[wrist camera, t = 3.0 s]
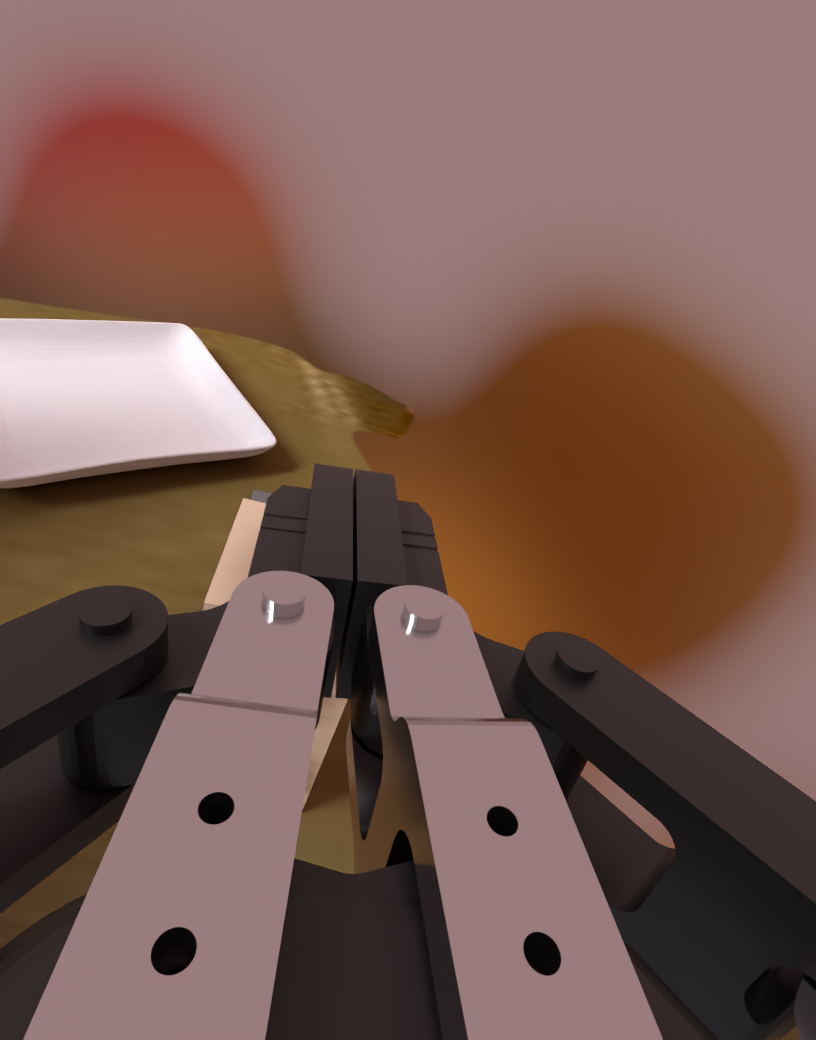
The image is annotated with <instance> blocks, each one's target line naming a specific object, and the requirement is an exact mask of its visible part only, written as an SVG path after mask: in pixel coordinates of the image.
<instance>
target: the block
mask: <svg viewBox="0 0 816 1040" xmlns="http://www.w3.org/2000/svg"><path fill="white" fill-rule="evenodd" d="M265 506H266V503H262V502H257V501H253V500H249V499H245V498H243V500H242V503H241V506H240V508H239V511H238V514H237V516H236V519H235V522H234V524H233V527H232V530H231V532H230V535H229V538H228V540H227V543H226V546H225V548H224V551H223V554H222V556H221V559H220V562H219V564H218V567H217V569H216V572H215V575H214V577H213V580H212V583H211V585H210V588H209V591H208V593H207V596H206V599H205V601H204V607H203V611H204V610H208V609H212V608H215V607H217V606H220V605H222V604H224V603H226V602H228V601H229V600H230V598H231V595H232V593H233V591H234V589H235V588H236V587H237V586H238V585H239V583H241V582H242V581H243V580H245V579H247V578H248V574H249V570H250V566H251V562H252V558H253V554H254V550H255V546H256V542H257V538H258V534H259V530H260V526H261V522H262V518H263V515H264V510H265ZM335 693H336V674H335V679H334V685H333V690H332V696H331V698H327V697H323V702H322V708H321V713H320V719H319V723H318V726H317V728H316V729H315V732H314V738H313V745H312V751H311V757H310V763H309V770H308V776H307V782H306V788H305V794H304V801H303V807H302V810H303V808H304V805H305V803H306V801H307V798H308V796H309V793H310V791H311V788H312V786H313V783H314V781H315V779H316V776H317V774H318V771H319V769H320V766H321V764H322V761H323V759H324V757H325V754H326V752H327V749H328V747H329V744H330V742H331V739H332V737H333V735H334V732H335V730H336V727H337V725H338V722H339V720H340V717H341V715H342V713H343V710H344V708H345V705H346V703H347V700H348V699H343V698H335Z"/></svg>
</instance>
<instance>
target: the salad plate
mask: <svg viewBox="0 0 816 1040" xmlns="http://www.w3.org/2000/svg"><path fill="white" fill-rule="evenodd" d="M276 442H277V441H276V438H275V436H274V435H273V433H272V432H271V431H270V429H269V428H268V427H267V425H266V424H265V423H264V421H263V420H262V419H261V418H260V417H259V415H258V414H257V413H256V411H255V410H254V409H253V408H252V406H251V405H250V404H249V403H248V401H247V400H246V399H245V397H244V396H243V395H242V394H241V392H240V391H239V390H238V389H237V387H236V386H235V385H234V384H233V382H232V381H231V380H230V379H229V377H228V376H227V375H226V373H225V372H224V371H223V370H222V368H221V367H220V366H219V364H218V363H217V362H216V360H215V359H214V358H213V356H212V355H211V354H210V352H209V351H208V350H207V348H206V347H205V345H204V344H203V343H202V341H201V340H200V339H199V337H198V336H197V335H196V334H195V333H194V332H193V331H192V330H191V329H190V328H189V327H188V326H186V325H183V324H179V323H160V322H131V321H99V320H62V319H0V488H18V487H26V486H33V485H39V484H45V483H51V482H57V481H63V480H69V479H75V478H81V477H88V476H95V475H103V474H110V473H117V472H124V471H132V470H139V469H147V468H155V467H163V466H171V465H179V464H188V463H198V462H208V461H218V460H228V459H236V458H244V457H250V456H255V455H258V454H261V453H264V452H266V451H268V450H269V449H271V448H272V447H274V446H275V445H276Z"/></svg>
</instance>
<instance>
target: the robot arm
mask: <svg viewBox="0 0 816 1040" xmlns="http://www.w3.org/2000/svg"><path fill="white" fill-rule="evenodd" d="M434 535H435V534H434V530H433V525H432V521H431V518H430V517H429V516H428V515H427V513H426V512H425V511H424V510H423V509H422V508H421V507H420V506H419V504H418V503H412V502H405V501H398V500H397V496H396V489H395V482H394V476H393V475H392V474H385V473H378V472H371V471H364V470H357V469H356V470H355V473H354V478H353V469H349V468H342V467H335V466H328V465H321V464H315V465H314V473H313V480H312V488H311V489H307V488H300V487H293V486H285V485H282V486H281V487H280V488H279V489H278V490H276V491H275V492H274V493H273V494H271V495H270V496H269V497H268V498H267V502H266V506H265V510H264V515H263V518H262V522H261V526H260V530H259V534H258V538H257V542H256V546H255V550H254V554H253V558H252V562H251V566H250V570H249V574H248V578H247V579H245V580H243V581H242V582H241V583H239V585H238V586H237V587H236V588H235V589H234V591H233V593H232V595H231V598H230V600H229V601H228V602H226V603H224V604H222V605H220V606H217V607H215V608H212V609H208V610H204V611H198V612H192V613H183V614H175V615H168V612H167V610H166V607H165V605H164V604H163V603H162V601H161V600H159V599H158V598H157V597H156V596H154V595H153V594H151V593H149V592H147V591H144V590H142V589H138V588H134V587H128V586H101V587H95V588H90V589H86V590H82V591H79V592H77V593H74V594H71V595H69V596H67V597H65V598H62V599H60V600H58V601H55V602H53V603H51V604H48V605H46V606H44V607H41V608H39V609H37V610H35V611H32V612H30V613H28V614H25V615H23V616H21V617H18V618H16V619H14V620H11V621H9V622H7V623H5V624H2V625H0V913H1V912H3V911H4V910H5V909H7V908H8V907H9V906H10V905H12V904H13V903H14V902H15V901H17V900H18V899H19V898H21V897H22V896H23V895H24V894H26V893H27V892H28V891H30V890H31V889H32V888H33V887H35V886H36V885H37V884H39V883H40V882H41V881H42V880H44V879H45V878H46V877H47V876H49V875H50V874H51V873H53V872H54V871H55V870H56V869H58V868H59V867H60V866H62V865H63V864H64V863H65V862H67V861H68V860H69V859H70V858H72V857H73V856H74V855H76V854H77V853H78V852H79V851H81V850H82V849H83V848H85V847H86V846H87V845H88V844H90V843H91V842H92V841H93V840H95V839H96V838H97V837H99V836H100V835H101V834H102V833H104V832H105V831H106V830H108V829H109V828H110V827H111V826H113V825H114V824H115V823H117V822H118V821H119V823H118V825H117V827H116V829H115V832H114V834H113V836H112V838H111V841H110V843H109V845H108V848H107V850H106V852H105V854H104V857H103V859H102V861H101V864H100V866H99V868H98V870H97V873H96V875H95V877H94V879H93V882H92V884H91V886H90V889H89V891H88V893H87V894H86V895H84V896H82V897H80V898H77V899H75V900H73V901H71V902H69V903H67V904H66V905H64V906H62V907H61V908H59V909H57V910H55V911H54V912H52V913H50V914H49V915H47V916H45V917H43V918H42V919H40V920H39V921H38V922H36V923H35V924H33V925H32V926H30V927H29V928H28V929H26V930H25V931H23V932H22V933H21V934H19V935H18V936H16V937H15V938H14V939H12V940H11V941H10V942H9V943H7V944H6V945H5V946H4V947H3V948H1V949H0V1040H816V801H814V800H813V799H812V798H810V797H809V796H807V795H806V794H804V793H803V792H802V791H800V790H799V789H797V788H796V787H795V786H793V785H792V784H791V783H789V782H788V781H786V780H785V779H784V778H782V777H781V776H779V775H778V774H776V773H775V772H774V771H772V770H771V769H769V768H768V767H767V766H765V765H764V764H762V763H761V762H760V761H758V760H757V759H755V758H754V757H753V756H751V755H750V754H748V753H747V752H746V751H744V750H743V749H741V748H740V747H739V746H737V745H736V744H734V743H733V742H732V741H730V740H729V739H727V738H726V737H725V736H723V735H722V734H720V733H719V732H717V731H716V730H715V729H713V728H712V727H710V726H709V725H708V724H706V723H705V722H703V721H702V720H701V719H699V718H698V717H696V716H695V715H694V714H692V713H691V712H689V711H688V710H687V709H685V708H684V707H682V706H681V705H680V704H678V703H677V702H676V701H674V700H673V699H671V698H670V697H669V696H667V695H666V694H664V693H663V692H661V691H660V690H659V689H657V688H656V687H654V686H653V685H652V684H650V683H649V682H647V681H646V680H645V679H643V678H642V677H640V676H639V675H638V674H636V673H635V672H633V671H632V670H631V669H629V668H628V667H626V666H625V665H624V664H622V663H621V662H619V661H618V660H616V659H615V658H614V657H612V656H611V655H610V654H608V653H607V652H605V651H604V650H603V649H601V648H600V647H598V646H597V645H595V644H593V643H592V642H590V641H588V640H586V639H584V638H581V637H579V636H576V635H572V634H569V633H563V632H545V633H541V634H538V635H536V636H534V637H533V638H532V639H530V641H529V642H528V644H527V646H526V649H525V651H522V650H519V649H516V648H513V647H510V646H507V645H504V644H501V643H498V642H495V641H493V640H490V639H487V638H485V637H483V636H481V635H479V634H477V633H476V632H474V631H473V629H472V626H471V624H470V621H469V618H468V616H467V614H466V612H465V611H464V609H463V608H462V607H461V606H460V605H459V604H458V603H457V602H456V601H455V600H454V599H452V598H451V597H449V596H448V594H447V589H446V585H445V581H444V576H443V571H442V566H441V562H440V557H439V553H438V552H437V543H436V539H435V538H434ZM335 674H336V693H335V698H343V699H351V718H350V723H349V727H348V732H347V737H346V751H347V764H348V777H349V790H350V803H351V816H352V829H353V842H354V874H345V873H341V872H337V871H334V870H331V869H327V868H324V867H321V866H318V865H314V864H311V863H308V862H304V861H301V860H298V859H295V858H294V857H295V850H296V844H297V838H298V832H299V826H300V819H301V813H302V807H303V801H304V794H305V788H306V782H307V776H308V770H309V763H310V757H311V751H312V745H313V738H314V732H315V729H316V728H317V726H318V723H319V719H320V713H321V708H322V702H323V697H327V698H331V696H332V690H333V685H334V679H335ZM588 760H589V761H590V762H591V763H592V764H594V765H595V766H596V767H597V768H598V769H599V770H600V771H602V772H603V773H604V774H605V775H606V776H607V777H609V778H610V779H611V780H612V781H614V783H616V784H617V785H618V786H619V787H621V788H622V789H623V790H624V791H625V792H626V793H627V794H629V795H630V796H631V797H632V798H633V799H635V800H636V801H637V802H638V803H639V804H640V805H642V806H643V807H644V808H645V809H646V810H647V811H649V812H650V813H651V814H652V815H653V816H654V817H656V818H657V819H658V820H659V821H660V822H661V823H662V824H663V825H664V826H665V827H666V829H667V830H668V832H669V833H670V835H671V837H672V839H673V842H674V844H675V849H673V848H668V847H665V846H663V845H661V844H659V843H658V842H656V841H655V840H654V839H652V838H651V837H650V836H649V835H648V834H647V833H645V832H644V831H643V830H642V829H641V828H640V827H639V826H637V825H636V824H635V823H634V822H633V821H632V820H631V819H629V818H628V817H627V816H626V815H625V814H624V813H623V812H621V811H620V810H619V809H618V808H617V807H616V806H615V805H613V804H612V803H611V802H610V801H609V800H608V799H607V798H605V797H604V796H603V795H602V794H601V793H599V791H598V790H596V789H595V788H594V787H593V786H592V785H591V784H589V783H588V782H587V781H586V780H585V779H584V778H583V777H581V776H580V774H581V772H582V770H583V768H584V766H585V765H586V763H587V761H588Z"/></svg>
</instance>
